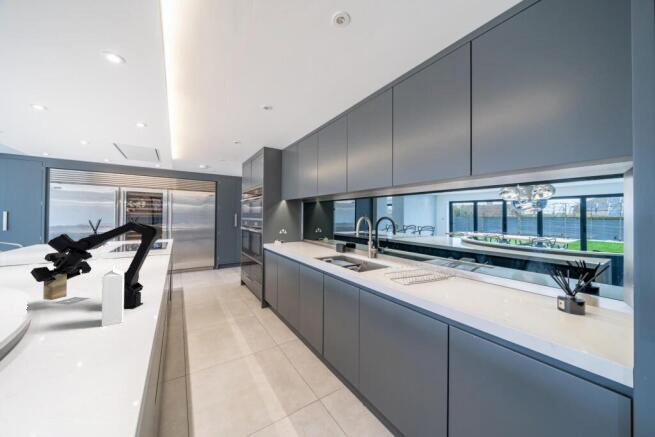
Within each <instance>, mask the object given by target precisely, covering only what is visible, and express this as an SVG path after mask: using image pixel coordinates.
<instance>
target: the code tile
mask: <svg viewBox="0 0 655 437" xmlns="http://www.w3.org/2000/svg"><path fill="white" fill-rule="evenodd" d="M90 299H91V298H90V297H79V296H73V297H70V298H66V299H62V300H59V301H55V302H53V304H58V305H67V306H68V305H72V304H76V303H80V302H84V301H86V300H90Z"/></svg>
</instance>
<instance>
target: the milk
mask: <svg viewBox="0 0 655 437" xmlns="http://www.w3.org/2000/svg"><path fill="white" fill-rule="evenodd" d="M124 273H125V272H124V271H121V270H120V269H116V265H113V267H112V270H110V271H108V272H107V273H105V274H103V276H102V277H101V278H102V280H101V281H102V282H101V283H102V288H101V289H102V290H101V327H106V326H112V325H116V324H122V323H123V320H124V313H125V312H124V311H125V310H124Z"/></svg>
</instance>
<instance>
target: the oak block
mask: <svg viewBox="0 0 655 437" xmlns="http://www.w3.org/2000/svg"><path fill="white" fill-rule="evenodd" d="M55 278H56V280H54V281H53V282H51V283H50V284H48V285H44V284H43V298H42V299H43V300H45V301H46V300H47V301H53V300H58V299H61V298H66V297H67V292H68V291H67V288H68V286H67V284H68V280H67V274H63V275H62V274H59V275H56V276H55Z"/></svg>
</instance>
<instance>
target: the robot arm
mask: <svg viewBox="0 0 655 437" xmlns="http://www.w3.org/2000/svg"><path fill="white" fill-rule="evenodd" d="M131 232H134V233H137V234H139V235H141V237H140V245H139V246H138V249H137V250H136V253H135V255H134V256H133V258H132V259H131V263H130V265H129V266H128V268H127V270H126V271H125V272H124V309H125V310H127V309H128V310H130V309H136V308H137V307H140V306H142V305H143V304H144V302H142V292H141V291H143V288H144V285H143V284H141V283H140V282H139V279H140V271H141V269H142V267H143V265H144V263H145V261H146V259H147V257H148V255H149V253H150V250H151V249H152V247H153V245H154V244H155V243H156V242H157V241H158V240H159V238H160V237H161V236H162V234H163V229H162V228H161V227H160V226H158V225H149V224H144V223H141V222H138V221H129V222H127V223H125V224H122V225H120V226H117V227H115V228H113V229H110V230H108V231H104V232H102V233H100V234H94V235H91V236H86V237H82V238H79V239H78V240H74V239H73V238H72V237H70V236H69V235H68V234H67V233H61V234H60V235H58V236H55V237H54V238H51V239H50V240H48V242H47V245H48V246H49V247H50V248H51V249H54V250H55V251H56V252H51V253H50V252H49V253H47V254H46V255H45V256H44V260H45V261H46V262H51V263H53V264H52V265H53V267H54V268H53V269H49V268H48V267H47V266H41V267H34V268H33V269H32V270H31V271H30V273H29V274H31V275H32V277H33V278H34V280H35V281H36V282H38V283H42V282H43V286H44V285H48V284H50V283H51V282H53V281H54V280H56V278H55V276H56V275H59V274H62V275H63V274H67V281H68V280H71V279H72V278H73V279H74V278H76V277H77V276H80V275H84V274H89V273H90V272H91V271H92V267H91V265H90V264H89V262H88V261H87V260H89V259H92V258H93V255H92V254H91V253H92V252H88V251H90V250H91V251H92V250H97V249H99V248H101V247H102V246H104V245H105V244H106V243H107V242H110V241H112V240H113V239H116V238H119V237H121V236H123V235H127V234H129V233H131Z"/></svg>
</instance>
